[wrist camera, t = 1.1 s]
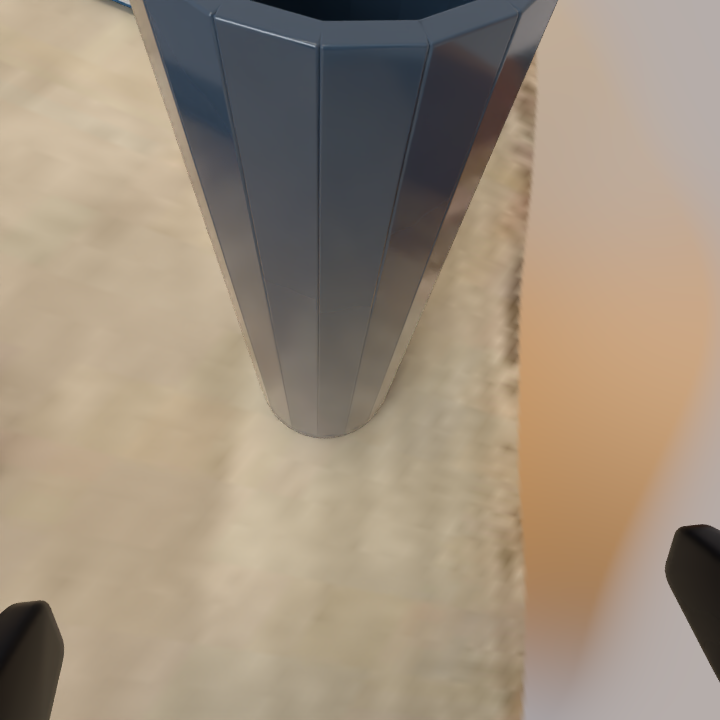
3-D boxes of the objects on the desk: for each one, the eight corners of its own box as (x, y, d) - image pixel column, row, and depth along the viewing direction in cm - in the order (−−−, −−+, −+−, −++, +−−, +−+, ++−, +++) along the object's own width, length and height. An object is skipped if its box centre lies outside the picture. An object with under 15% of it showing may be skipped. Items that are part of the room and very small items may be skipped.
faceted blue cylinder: (394, 432, 22) (642, 41, 5) (265, 444, 22) (79, 51, 5) (379, 314, 24) (531, -267, 7) (259, 323, 23) (106, -284, 6)
